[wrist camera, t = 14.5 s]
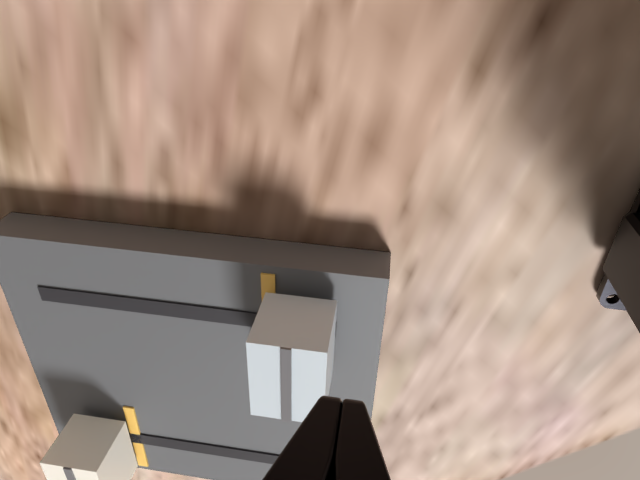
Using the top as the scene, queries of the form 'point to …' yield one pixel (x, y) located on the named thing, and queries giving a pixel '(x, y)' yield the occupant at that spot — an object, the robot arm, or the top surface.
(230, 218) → the top surface
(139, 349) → the console
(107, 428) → the cream fader
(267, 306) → the white fader
